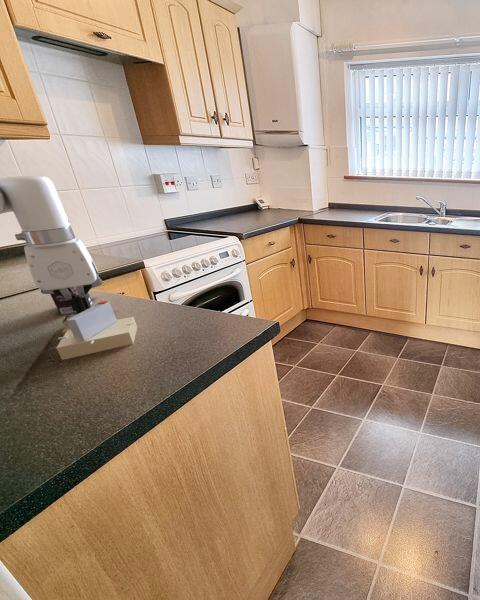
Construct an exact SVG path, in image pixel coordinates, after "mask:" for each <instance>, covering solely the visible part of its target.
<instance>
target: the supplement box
mask: <svg viewBox="0 0 480 600" xmlns="http://www.w3.org/2000/svg"><path fill="white" fill-rule="evenodd" d="M71 288H72V290H73V291H74V293H75V294H76V295H78V293H77V288H76V287H71ZM86 295H87V297H88V300H89V302H90V304H91V306H92V305H93V304H94V302H93V300H92V298H91V296H90V294H89V292H88V293H87V294H86ZM49 296H50V297H51V298H52V301H53V304H54V305H55V307H56V309H57V311H58V313H59V315H66V316H65V319H67V318H68V316H70V315H72V314H74V313H76V312H77V311H73V309H72V307H71V304H70V302H69V300H67V299H65V298H64V297H62V296H59V295H57V294H49Z"/></svg>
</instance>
